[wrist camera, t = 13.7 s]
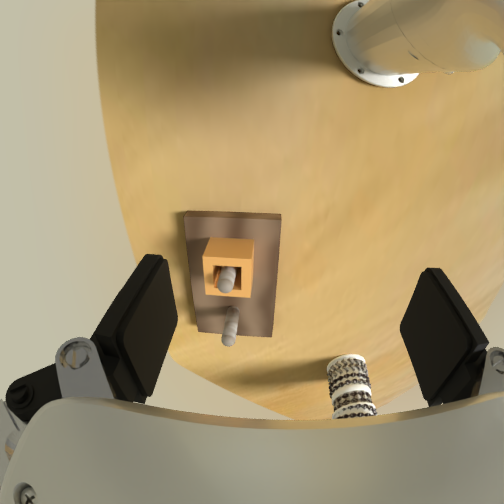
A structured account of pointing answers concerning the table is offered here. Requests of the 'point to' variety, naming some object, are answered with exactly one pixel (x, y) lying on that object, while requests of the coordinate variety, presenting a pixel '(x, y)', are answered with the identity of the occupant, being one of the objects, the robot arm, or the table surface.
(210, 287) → the collar
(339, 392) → the decorative candle
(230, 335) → the post board
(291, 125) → the table surface
